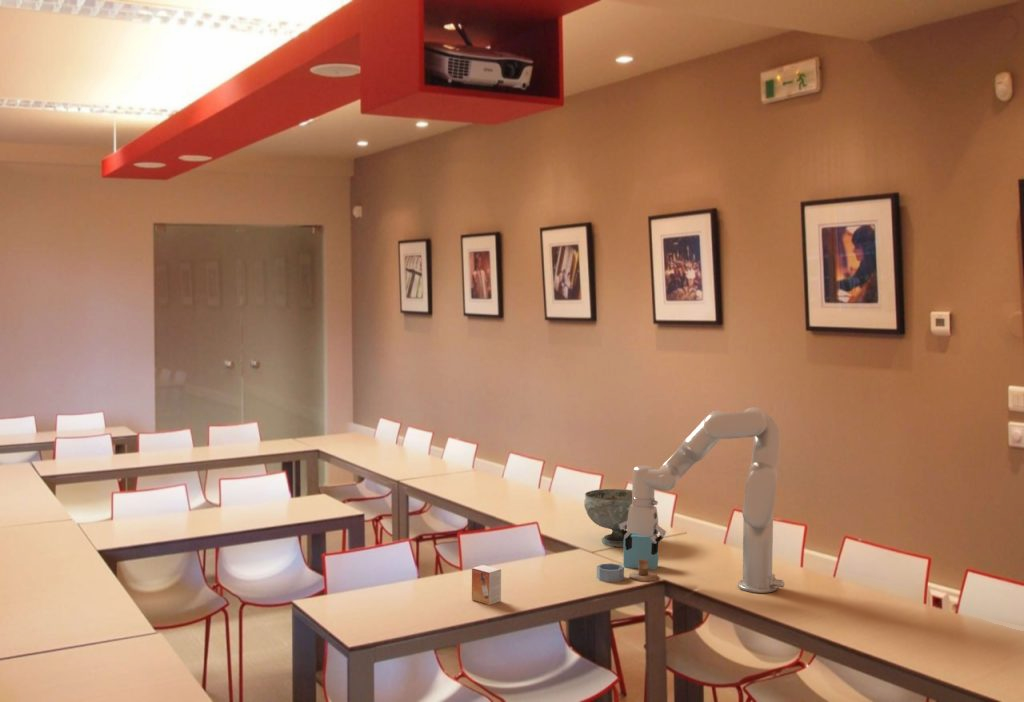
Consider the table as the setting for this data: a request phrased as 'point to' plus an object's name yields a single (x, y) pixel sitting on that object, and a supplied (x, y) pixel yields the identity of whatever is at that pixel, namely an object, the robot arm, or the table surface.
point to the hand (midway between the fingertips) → (641, 551)
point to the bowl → (610, 572)
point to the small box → (486, 584)
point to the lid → (643, 572)
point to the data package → (639, 552)
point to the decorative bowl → (609, 511)
